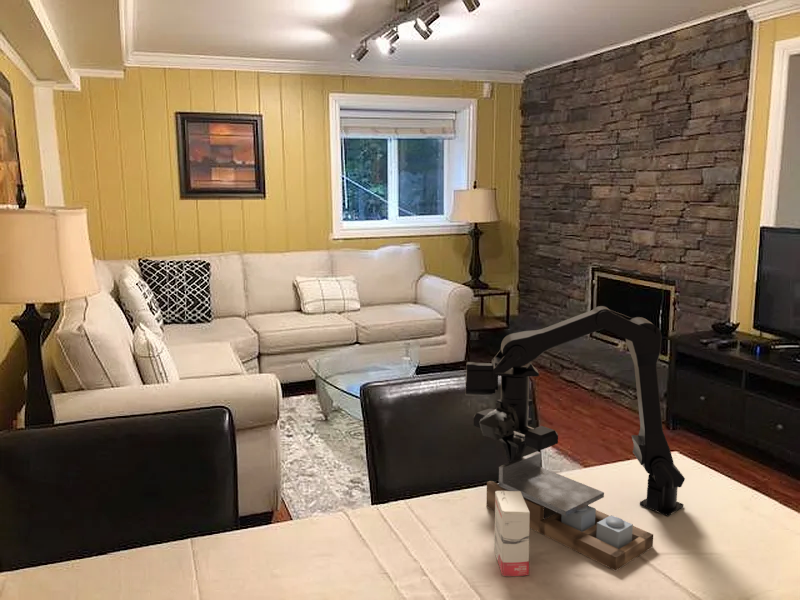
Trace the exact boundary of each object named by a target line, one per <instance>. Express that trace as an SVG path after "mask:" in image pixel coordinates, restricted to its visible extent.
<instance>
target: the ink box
mask: <svg viewBox="0 0 800 600" xmlns="http://www.w3.org/2000/svg"><path fill="white" fill-rule="evenodd" d="M529 523H530V512H529V510H528V507H527V505H526V503H525V500H524V498H523V496H522V494H521V491H496V492H495V510H494V536H493V537H494V539H493V540H494V543H493V545H494V546H493V550H494V554H495V557H496V559H497V563H498V566H499V569H500V572H501V575H502V576H503V577H522V576H523V577H524V576H529V575H530V528H529Z"/></svg>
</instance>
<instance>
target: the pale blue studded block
mask: <svg viewBox="0 0 800 600" xmlns="http://www.w3.org/2000/svg"><path fill="white" fill-rule="evenodd" d="M596 510H597V509H596V508H594V507H592V506H590V505H587V506H585V507H583V508H582V509H580V510H578V511H576V512H574V513H572V514H570V515H568V516H564V515H562V519H561V522H562V523H564V524H566V525H569V526H571V527H573V528H575V529H577V530H579V531H581V532H583V531H585V530H587V529H589V528H591V527H592V526H594V525H595V515H596Z"/></svg>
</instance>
